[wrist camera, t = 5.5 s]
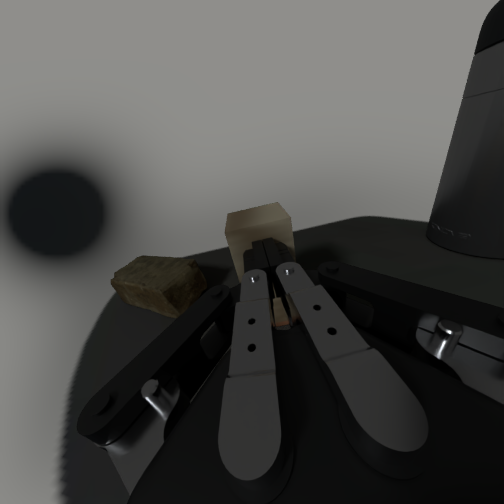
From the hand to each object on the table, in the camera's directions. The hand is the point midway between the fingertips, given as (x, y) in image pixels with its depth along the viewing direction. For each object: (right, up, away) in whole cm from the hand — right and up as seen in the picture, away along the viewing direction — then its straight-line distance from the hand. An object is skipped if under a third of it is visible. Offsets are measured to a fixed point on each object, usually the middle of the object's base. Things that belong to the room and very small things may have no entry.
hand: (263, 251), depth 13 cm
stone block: (-12, -6, +12) cm, 18 cm away
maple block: (+1, -6, +6) cm, 8 cm away
